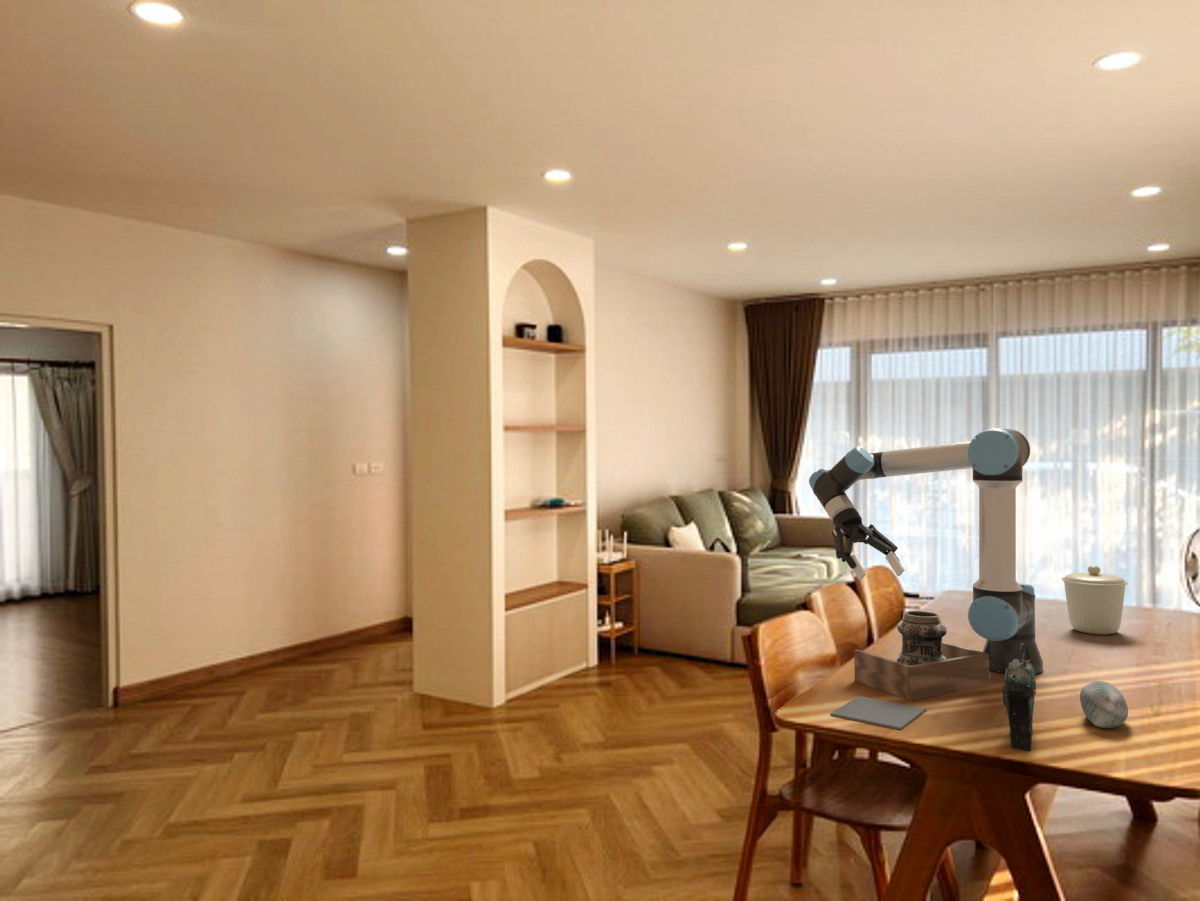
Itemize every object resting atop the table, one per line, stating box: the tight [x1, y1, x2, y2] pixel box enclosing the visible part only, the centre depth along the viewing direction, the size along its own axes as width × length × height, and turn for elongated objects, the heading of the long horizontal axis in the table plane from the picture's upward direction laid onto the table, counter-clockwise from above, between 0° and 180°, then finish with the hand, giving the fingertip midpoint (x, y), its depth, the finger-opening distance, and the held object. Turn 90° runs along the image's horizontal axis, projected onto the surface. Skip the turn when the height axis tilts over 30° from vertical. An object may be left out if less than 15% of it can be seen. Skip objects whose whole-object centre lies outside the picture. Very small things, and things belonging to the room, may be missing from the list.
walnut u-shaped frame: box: [853, 641, 990, 702], centre depth 212 cm, size 19×26×8 cm
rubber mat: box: [830, 695, 927, 730], centre depth 190 cm, size 16×16×1 cm
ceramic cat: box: [1001, 643, 1037, 752], centre depth 173 cm, size 20×6×20 cm, turn 151°
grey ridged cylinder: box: [1079, 680, 1129, 729], centre depth 181 cm, size 14×10×10 cm
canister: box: [1061, 564, 1129, 636], centre depth 265 cm, size 18×18×21 cm
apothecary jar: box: [896, 610, 948, 666], centre depth 212 cm, size 12×12×18 cm
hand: (882, 575), depth 224 cm, fingers open, 13 cm apart
